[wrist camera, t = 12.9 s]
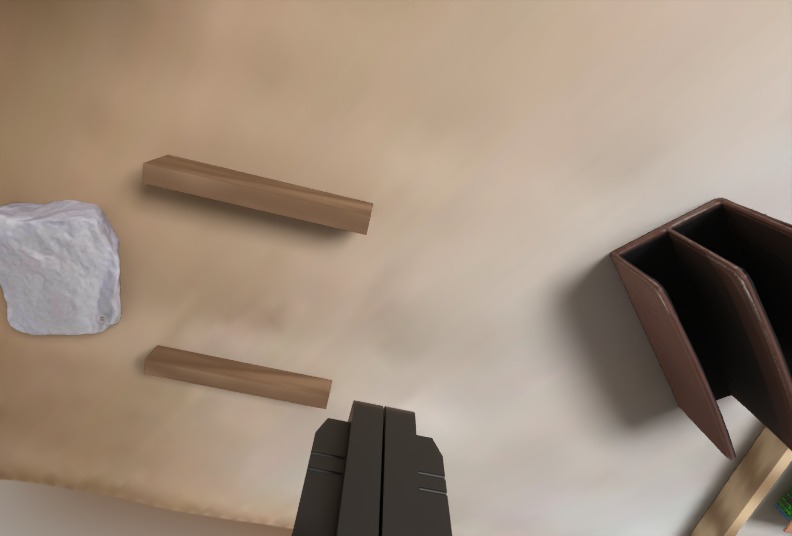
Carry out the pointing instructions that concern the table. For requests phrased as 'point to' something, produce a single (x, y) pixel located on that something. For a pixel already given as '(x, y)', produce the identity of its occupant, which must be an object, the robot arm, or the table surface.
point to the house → (791, 526)
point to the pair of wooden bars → (268, 199)
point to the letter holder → (718, 312)
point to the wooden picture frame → (745, 487)
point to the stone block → (59, 268)
